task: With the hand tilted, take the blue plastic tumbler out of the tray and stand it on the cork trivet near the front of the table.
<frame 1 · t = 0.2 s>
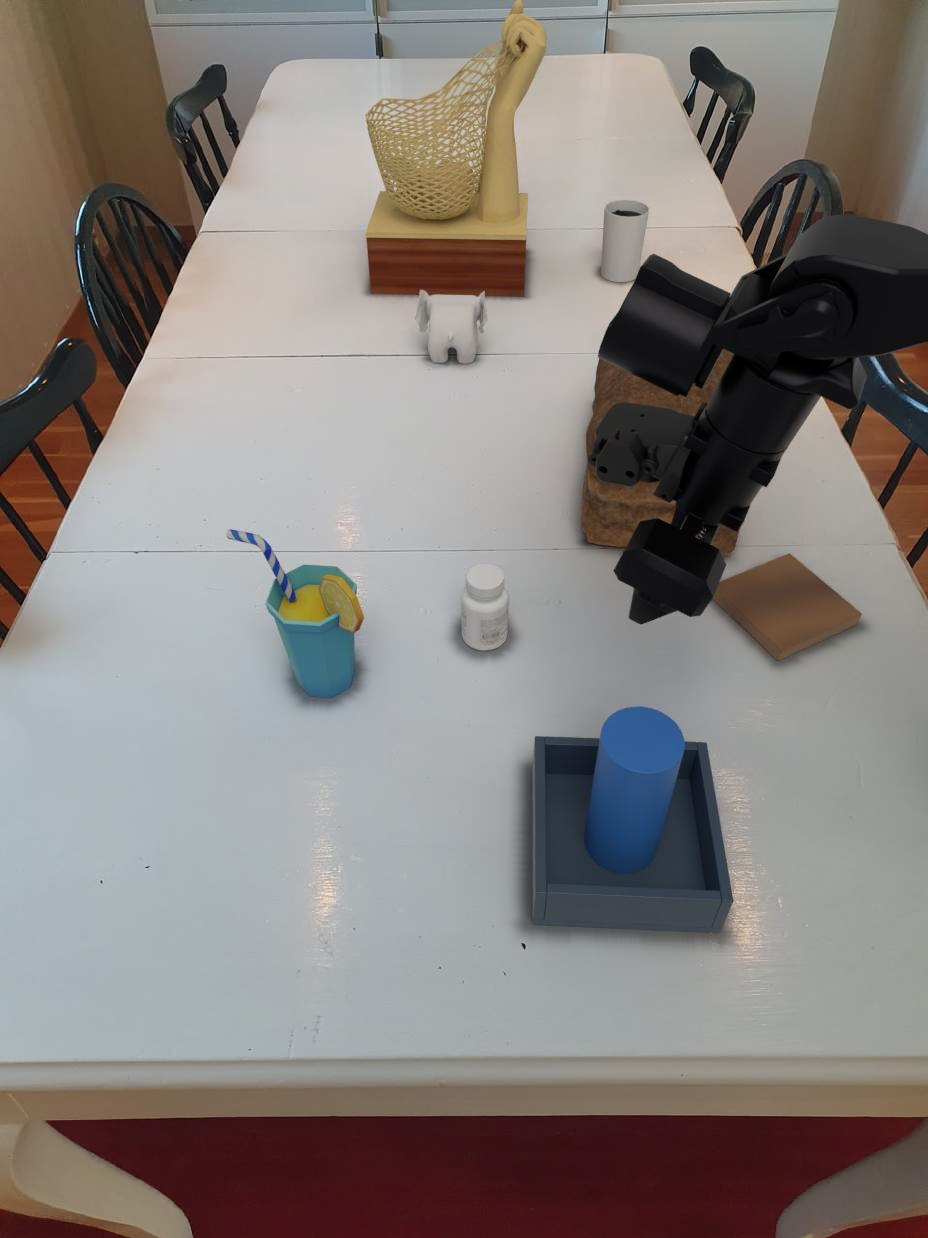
hand: (654, 581, 69), 16 cm above the table, tool pointing down, fingers open, 9 cm apart
elephant figurine: (453, 352, 125), on the table
bread: (657, 475, 105), on the table
trivet: (782, 610, 89), on the table
cup: (318, 674, 84), on the table
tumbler: (620, 840, 70), point 1 cm above the table, touching tray
tray: (619, 846, 71), on the table
net sculpture trophy: (456, 274, 142), on the table
pill bottle: (484, 636, 87), on the table
white cylindrical pot: (619, 275, 141), on the table
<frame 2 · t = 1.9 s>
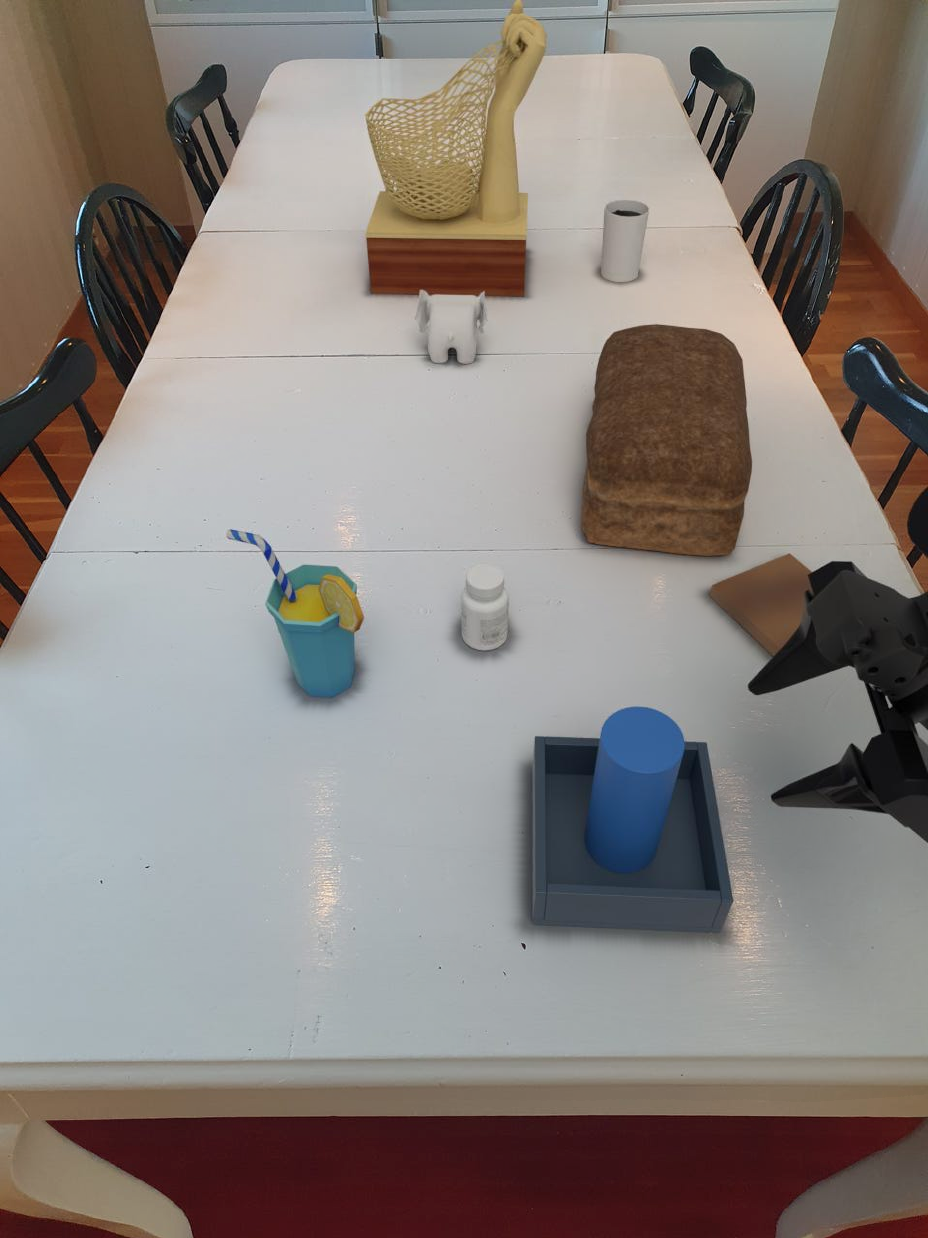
hand: (762, 743, 61), 13 cm above the table, tool tilted 45°, fingers open, 9 cm apart
nothing on the table moved.
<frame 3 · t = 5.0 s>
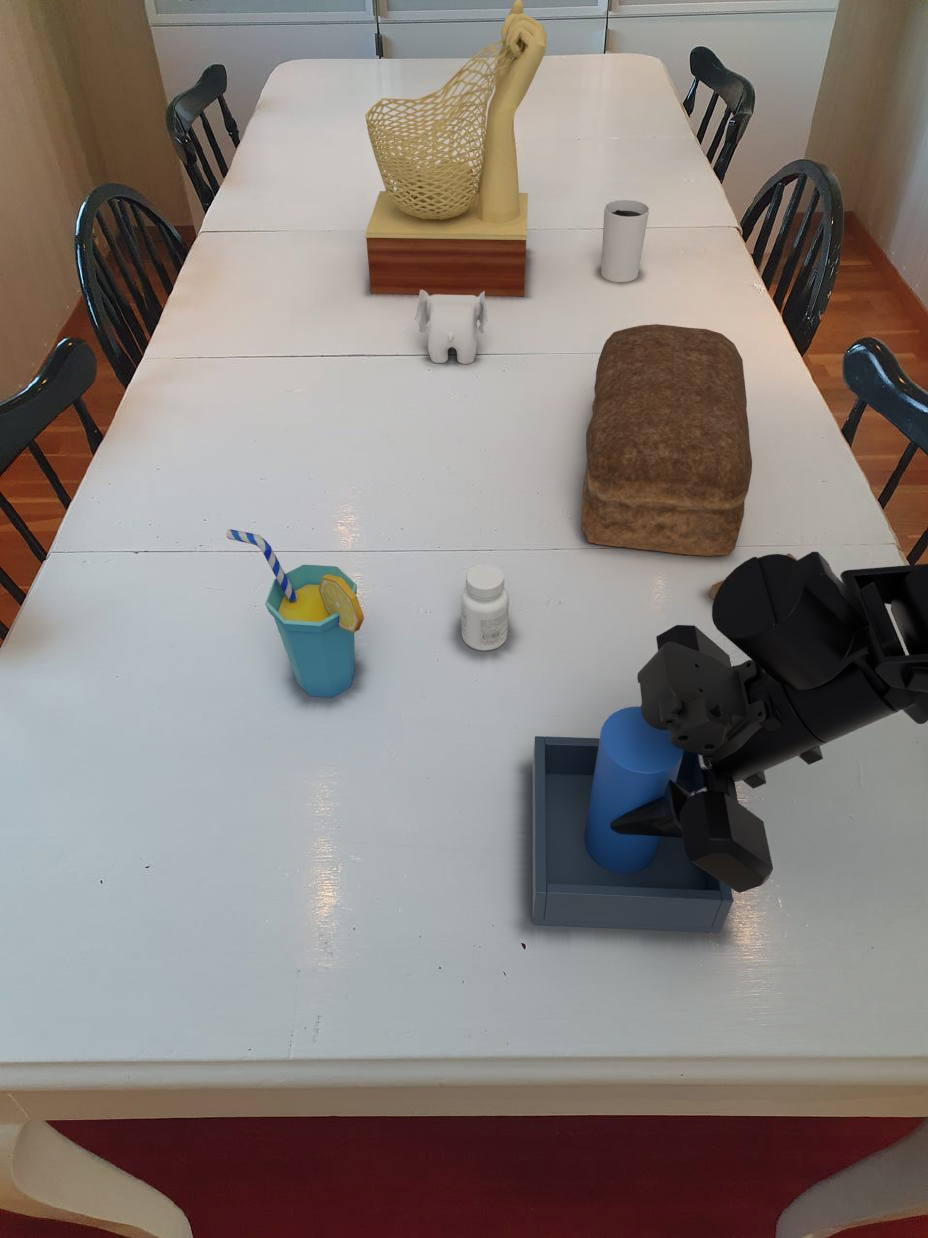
hand: (611, 793, 66), 7 cm above the table, tool tilted 45°, fingers closed on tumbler, 5 cm apart
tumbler: (620, 841, 70), point 1 cm above the table, touching gripper, tray
everything else where it was.
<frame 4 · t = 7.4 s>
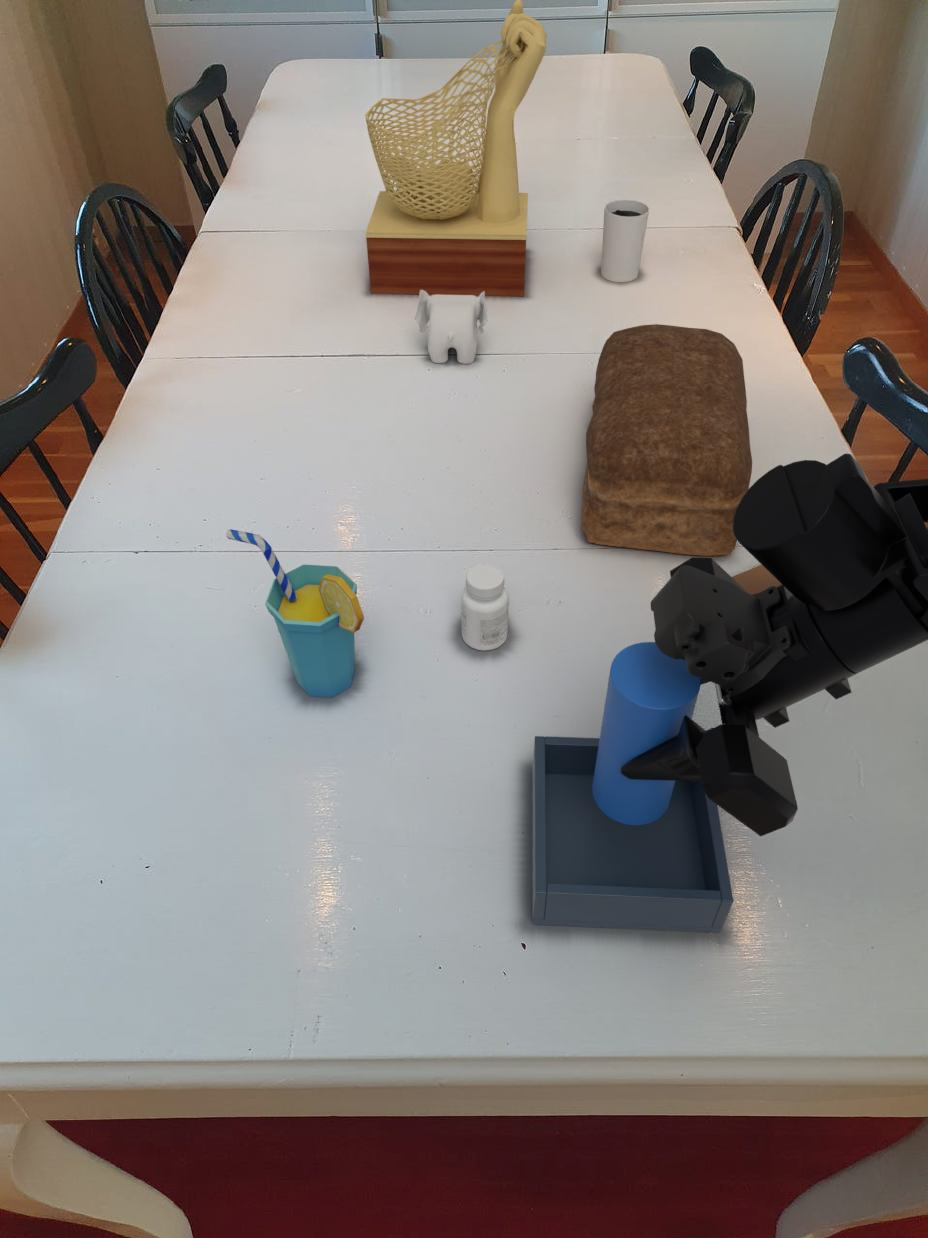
hand: (621, 737, 61), 13 cm above the table, tool tilted 45°, fingers closed on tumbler, 5 cm apart
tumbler: (630, 792, 66), point 7 cm above the table, touching gripper
everything else where it was.
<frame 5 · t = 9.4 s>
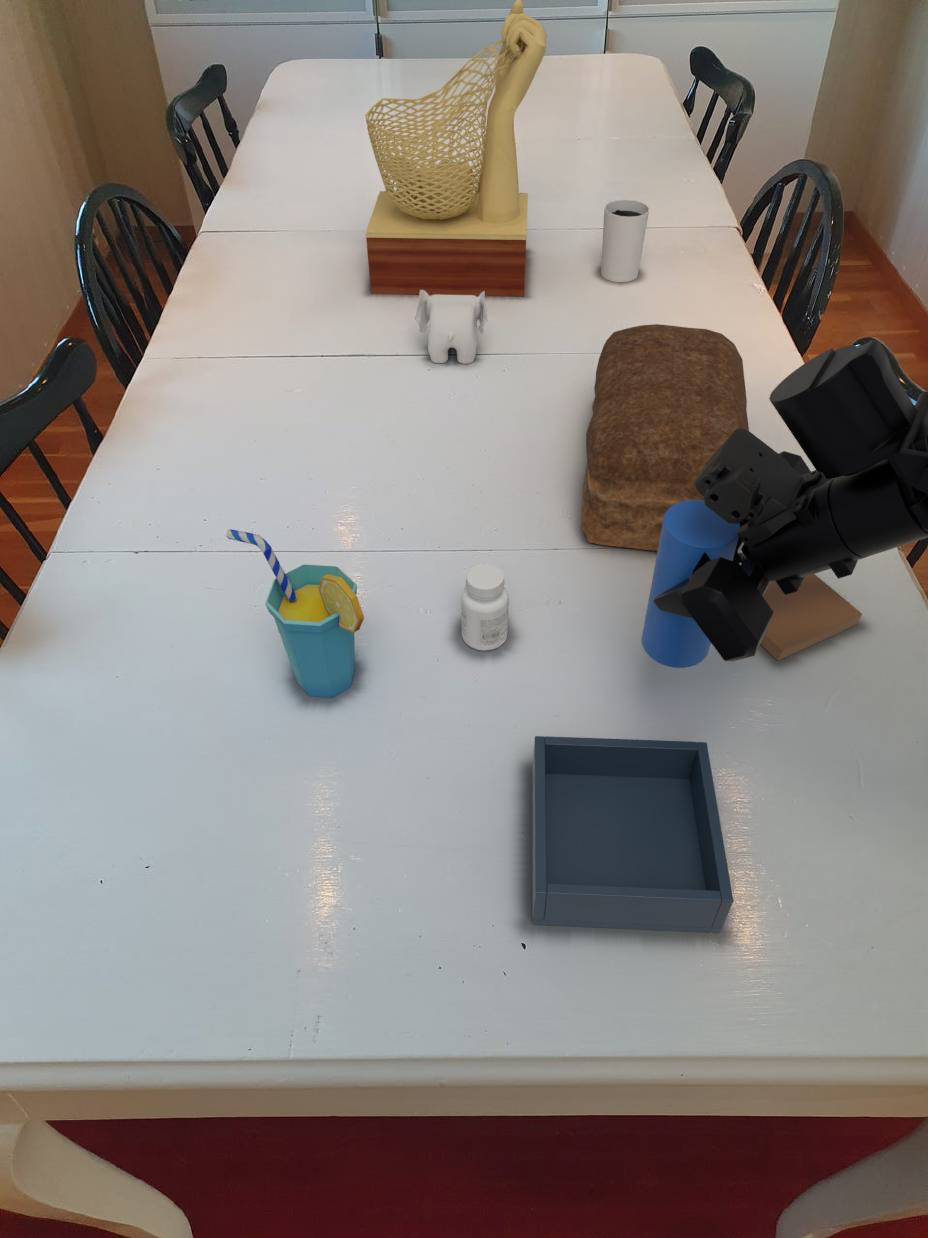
hand: (671, 581, 72), 13 cm above the table, tool tilted 45°, fingers closed on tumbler, 5 cm apart
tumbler: (675, 643, 76), point 7 cm above the table, touching gripper
everything else where it was.
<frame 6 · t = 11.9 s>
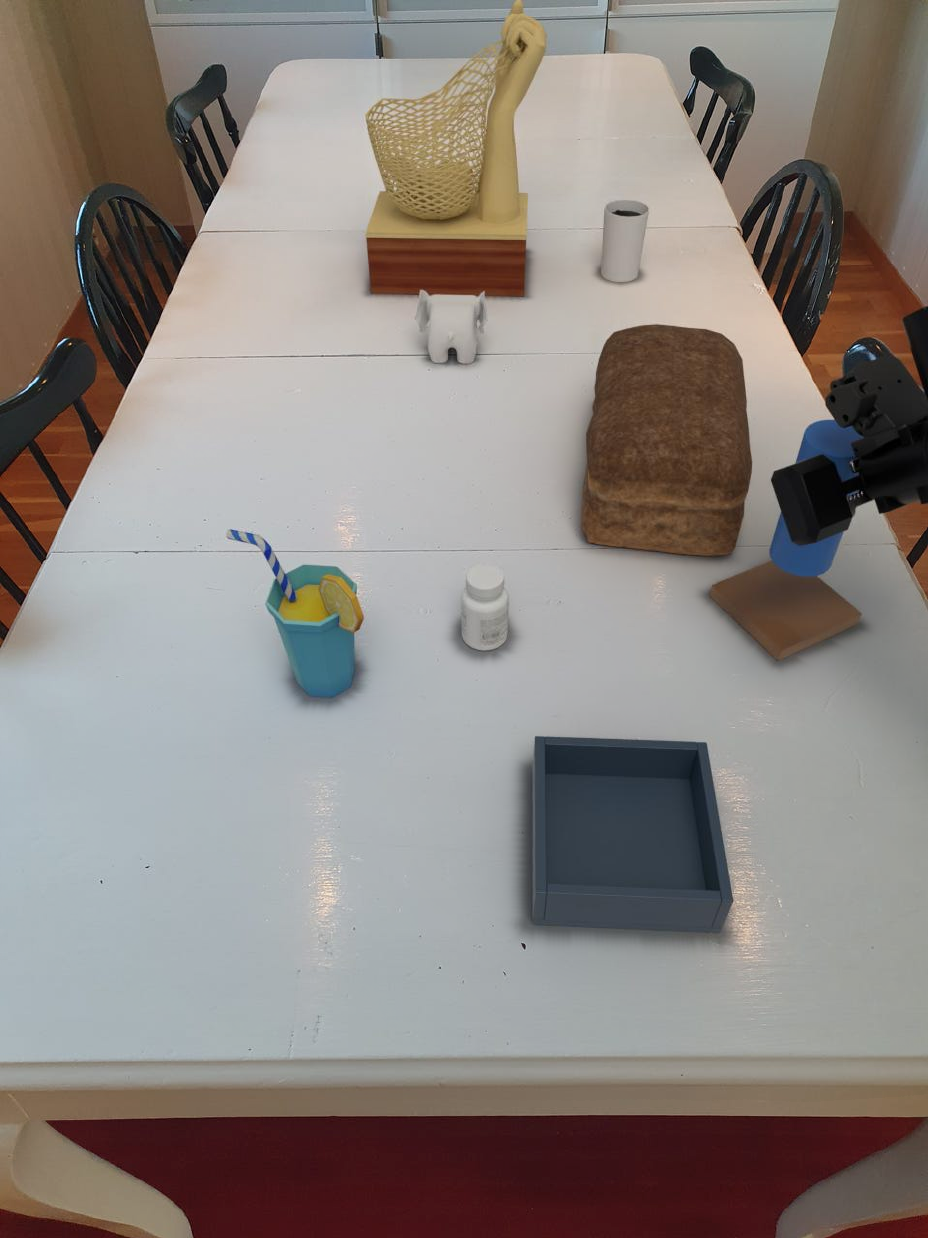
hand: (807, 493, 80), 13 cm above the table, tool tilted 45°, fingers closed on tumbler, 5 cm apart
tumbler: (800, 556, 84), point 7 cm above the table, touching gripper
everything else where it was.
when the fingers open (8 cm above the table, at t = 14.0 s): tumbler stays where it is, resting on trivet.
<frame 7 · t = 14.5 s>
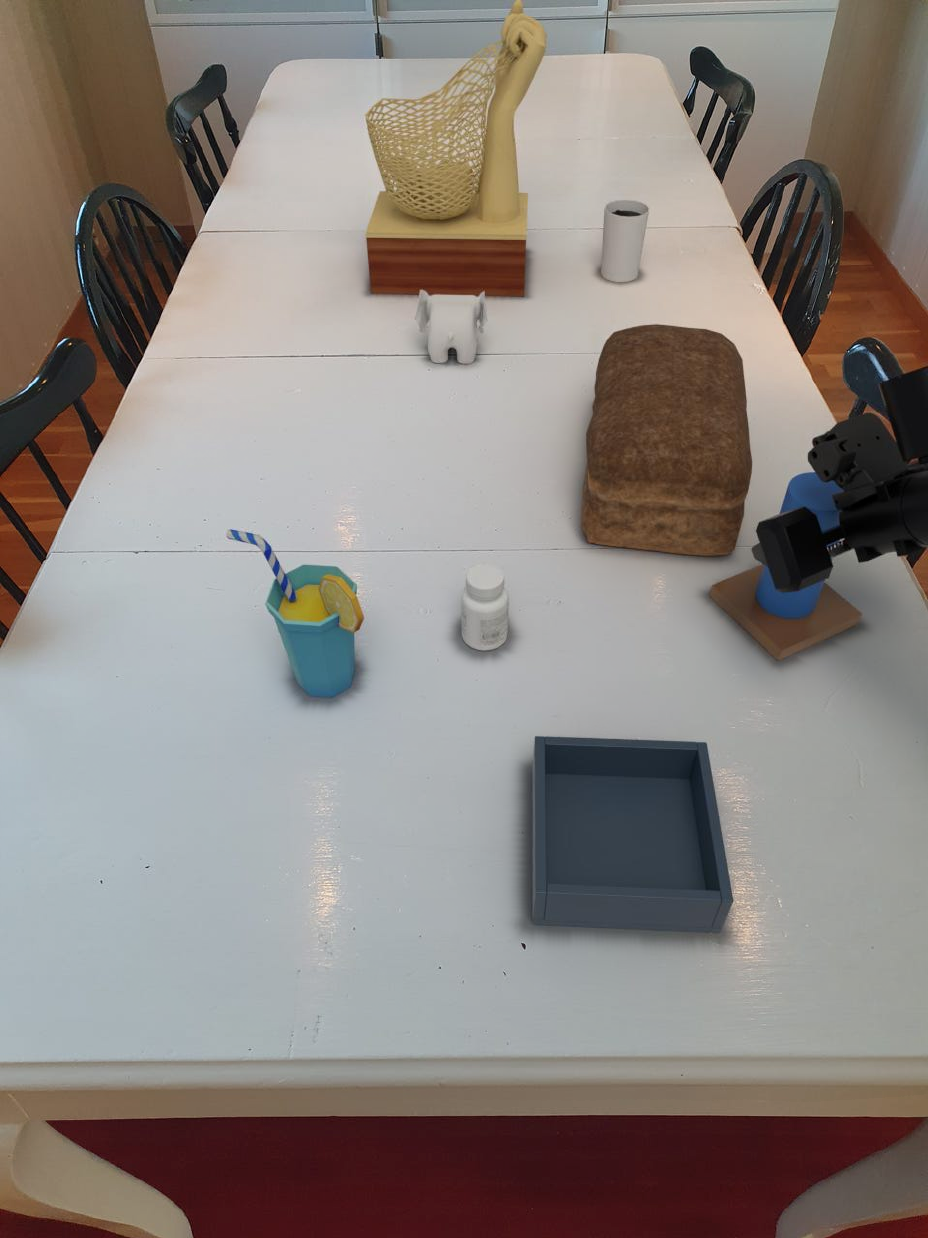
hand: (792, 537, 84), 8 cm above the table, tool tilted 45°, fingers open, 9 cm apart
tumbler: (785, 598, 88), point 1 cm above the table, touching trivet
everything else where it was.
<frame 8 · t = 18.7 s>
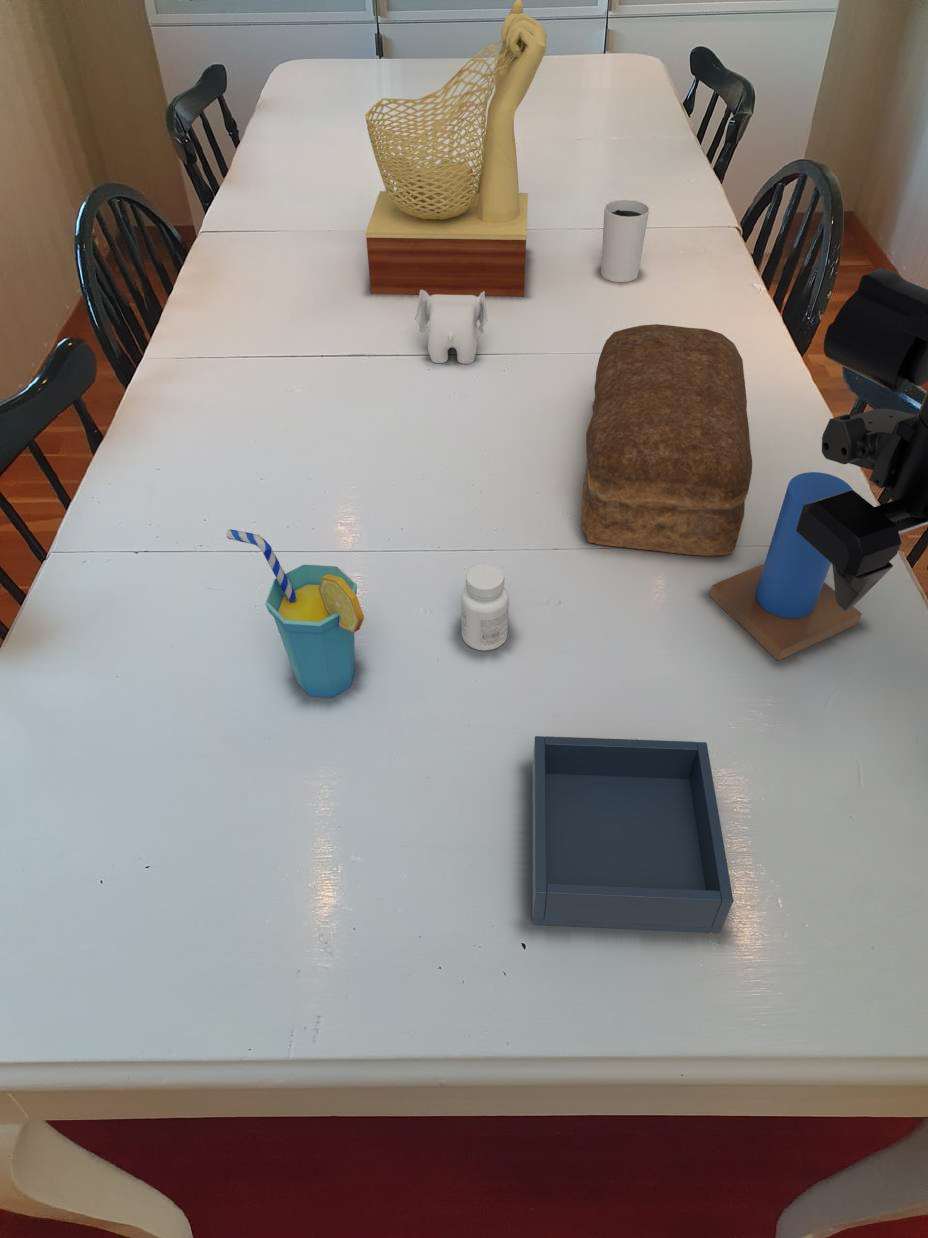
hand: (888, 589, 72), 13 cm above the table, tool pointing down, fingers open, 9 cm apart
nothing on the table moved.
at the end: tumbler 0.1 cm off-centre on the trivet, point 1.5 cm above the trivet's base; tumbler tilted 0°; the gripper is holding nothing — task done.
